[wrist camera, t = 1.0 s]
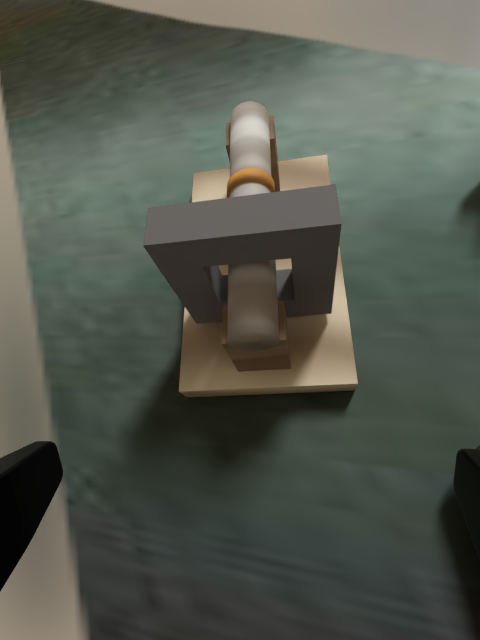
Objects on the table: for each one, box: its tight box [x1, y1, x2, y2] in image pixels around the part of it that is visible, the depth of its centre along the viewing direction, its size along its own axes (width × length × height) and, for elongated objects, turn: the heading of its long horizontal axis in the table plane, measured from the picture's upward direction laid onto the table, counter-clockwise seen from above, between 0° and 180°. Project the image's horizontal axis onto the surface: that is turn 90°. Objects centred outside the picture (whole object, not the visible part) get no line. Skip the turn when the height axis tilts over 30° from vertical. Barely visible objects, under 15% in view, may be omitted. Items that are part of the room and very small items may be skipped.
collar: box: [143, 184, 341, 324], centre depth 19 cm, size 2×8×8 cm, turn 90°
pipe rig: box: [179, 101, 358, 397], centre depth 22 cm, size 17×10×7 cm, turn 0°
